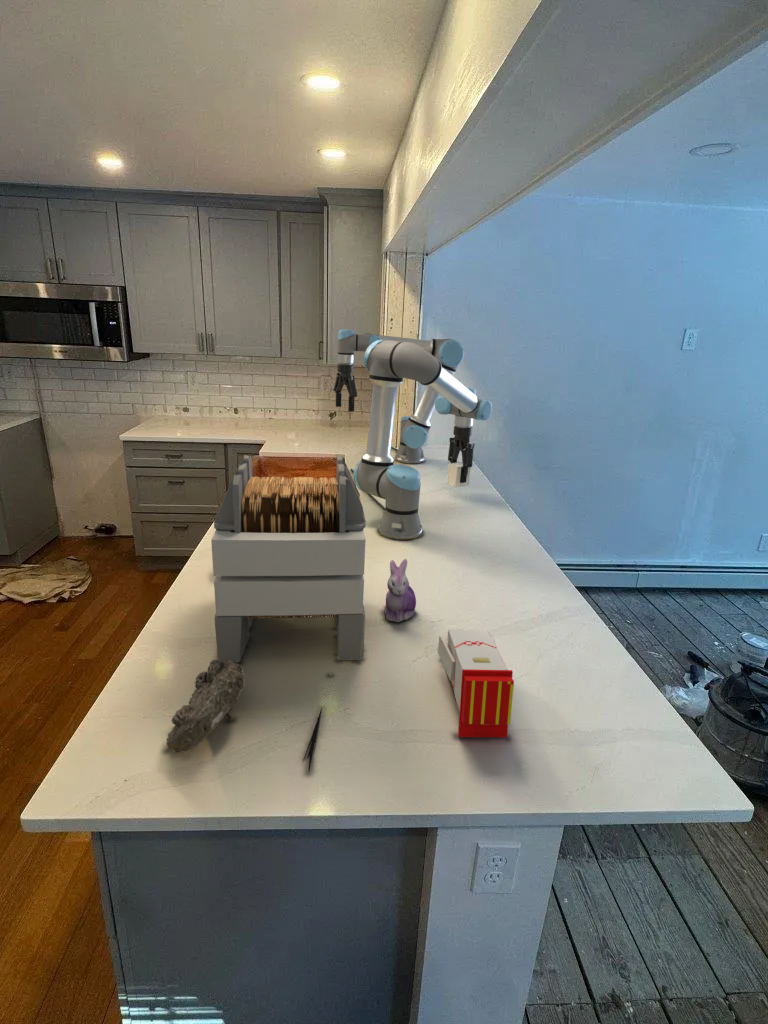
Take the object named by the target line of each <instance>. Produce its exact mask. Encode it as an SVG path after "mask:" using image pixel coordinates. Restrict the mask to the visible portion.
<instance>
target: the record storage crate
mask: <svg viewBox="0 0 768 1024" xmlns="http://www.w3.org/2000/svg"><path fill="white" fill-rule="evenodd" d="M252 461H253V460H252V455H246V454H244V455H243V457H242V460H241V461H240V463H239V465H238V467H237V469H236V471H235V474H234V475H233V477H232V479H231V481H230V483H229V485H228V488H227V491H226V492H225V495H224V497H223V499H222V501H221V504H220V506H219V508H218V510H217V513H216V515H215V517H214V519H213V520H214V521H213V528H214V529H215V530H214V533H213V535H212V537H211V540H210V543H211V558H212V572H213V573H212V575H213V577H215V578H214V581H213V588H214V589H213V591H214V605H215V614H214V630H215V632H214V633H215V644H216V653H217V659H215V660H217V661H222V662H223V661H224V660H227V659H228V660H231V659H232V660H234V661H235V662H236V663H241V660H242V657H243V655H244V652H245V649H246V647H247V644H248V641H249V639H250V634H249V633H250V631H249V629H251V628H252V624H253V619H292V618H293V619H294V618H295V619H300V618H302V619H305V618H306V619H307V618H335V627H336V648H337V649H336V651H337V660H338V661H347V660H348V661H349V660H351V661H352V660H354V661H361V660H362V659H364V657H365V629H366V627H365V626H366V625H365V624H366V613H365V606H364V594H365V593H364V591H365V578H364V575H365V562H366V561H365V559H366V535H365V531H364V529H365V528H366V517H365V512H364V507H363V506H364V505H363V503H362V499H361V494H360V492H359V488H358V487H357V486H356V484H355V482H354V478H353V475H352V474H351V472H350V470H349V468H348V465H347V463H346V461H345V459H344V456H340V455H336V471H335V472H336V475H335V476H336V477H329V478H328V477H326V476H325V477H319V478H315V477H313V476H310V477H309V476H293V477H291V478H290V477H289V478H288V476H287V477H285V476H281V477H280V476H262V477H259V476H253V462H252Z"/></svg>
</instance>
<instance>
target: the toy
mask: <svg viewBox="0 0 768 1024" xmlns="http://www.w3.org/2000/svg"><path fill="white" fill-rule="evenodd" d="M446 640H447V643H446V641H445V639H444V636H443V635H442V634H439V637H438V646H437V656H438V657H439V659H440V661H441V663H442V666H443V668H444V670H445V672H446V674H447V677H448V679H449V681H450V684H451V687H452V690H453V693H454V697H455V701H456V705H457V708H458V711H459V714H458V715H459V716H458V730H457V731H458V732H457V737H458V738H508V731H509V726H510V725H511V717H512V707H513V697H514V696H513V695H514V684H515V680H514V679H513V673H514V671H513V670H512V669H508V667H507V665H506V662H505V661H504V659H503V658H502V655H501V653H500V651H499V649H498V647H497V643H496V639H495V637H494V635H493V634H491V632H490V631H489V629H467V628H466V629H465V628H463V629H461V628H460V629H459V628H448V630H447V639H446Z"/></svg>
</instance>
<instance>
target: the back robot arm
mask: <svg viewBox="0 0 768 1024" xmlns="http://www.w3.org/2000/svg"><path fill="white" fill-rule="evenodd" d="M337 333H338V334H337V363H338V364H337V372H336V377H335V382H334V385H333V392H334V393H335V408H339V407H340V408H341V407H342V393H343V391H342V390H343V387H344V386H345V387H346V389H347V392H348V395H349V396H348V410H347V411H348V412H349V413H350V412H355V398H357V397H358V392H357V387H356V381H355V375H351V374H353V373H354V362H355V361H354V359H355V352H364V353H365V352H366V350H367V348H368V347H369V346H370V345H371V344H372V343H373V342H374V341H377V340H392V341H401V342H410V343H414V344H416V345H418V346H420V347H421V348H423V349H424V350H426V351H427V352H429V353H430V354H431V355H433V356H434V357H435V358H436V359H437V360H439V361H440V363H441V365H442V368H443V369H445V370H446V371H447V372H448V373H449V374H450V375H454V374H455V373H456V371H457V369H458V367H459V365H460V364H461V363H462V362H463V360H464V357H465V349H464V347H463V345H462V344H461V343H460V341H458V340H456V339H452V338H431V339H428V340H427V339H419V338H410V337H401V336H391V335H383V334H375V333H374V334H373V333H368V332H365V333H363V334H357V333H355V330H354V329H344V328H343V329H339V330H338V332H337ZM439 396H441V395H440V394H439V393H437V392H436V391H435V390H433V389H432V388H431V387H430V386H428V385H427V386H424V389H423V392H422V394H421V396H420V398H419V400H418V403H417V405H416V408H415V410H414V412H413V414H411V415H407V416H406V415H405V416H401V418H400V430H399V431H400V432H399V446H398V448H395V447H393V446H391V450H393V451H395V452H396V454H395V457H394V458H395V459H394V461H396V462H399V463H401V464H402V463H403V464H410V465H411V464H413V465H416V464H422V463H424V462H425V458H426V457H425V454H424V449H423V446H424V445H425V444H426V442H427V439H428V434H429V431H430V429H431V427H432V423H431V420H432V417H433V415H434V413H435V411H436V408H435V401H436V399H437V398H438V397H439Z"/></svg>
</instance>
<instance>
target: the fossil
mask: <svg viewBox="0 0 768 1024" xmlns="http://www.w3.org/2000/svg"><path fill="white" fill-rule="evenodd" d="M217 660H218V659H217ZM217 660H216V659H212V660H211V661H210V663H209V665H208V666H207V671H201V672H199V673H198V674H197V675H196V676H195V680H194V684H195V685H194V687H195V689H194V690H193V693H192V694H191V697H190V698H189V700H188V704H184V705H182V706H181V707H180V709H177V710H176V711H175V713H174V715H173V716H172V718H171V723H172V724H173V727H172V730H171V731H170V732H168V734H167V738H166V741H167V742H166V745H167V749H168V750H169V751H173V752H174V753H176V754H178V753H182V752H188V751H189V752H192V751H193V750H195V748H196V747H197V746H199V744H200V743H201V742H203V741H204V740H205V739H206V738H207V737H208V736H209V735H210V734H211V733H212V732H214V730H215V729H217V727H218V726H219V724H220V722H221V721H222V720H223V719H224V718H225V716H226V717H227V719H229V720H233V717H232V715H230V714H229V710H230V709H231V708H234V706H235V704H236V703H237V702H238V699H239V697H240V695H241V693H242V691H243V690H245V689H244V688H245V675H244V671H243V670H244V669H243V667H242V665H240V664H237V662H235V661H234V660H232V659H231V660H228V659H227V660H224V661H223V662H222V661H217Z"/></svg>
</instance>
